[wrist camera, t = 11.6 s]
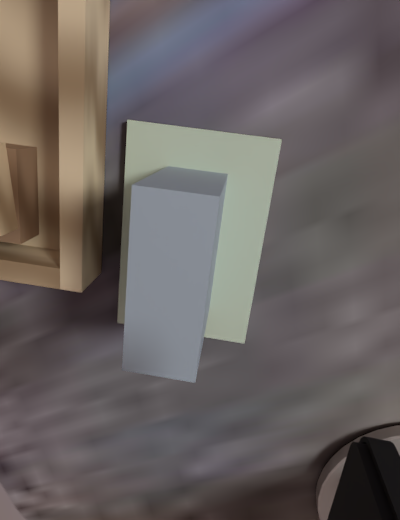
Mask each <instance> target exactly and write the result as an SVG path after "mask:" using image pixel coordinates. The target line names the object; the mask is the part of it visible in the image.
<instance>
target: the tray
mask: <svg viewBox="0 0 400 520" xmlns="http://www.w3.org/2000/svg"><path fill="white" fill-rule="evenodd" d="M109 17H110V0H0V142H5V143H9V144H17V145H24V146H32V147H37V172H38V209H39V235H37V236H36V237H34V238H32V239H30V240H28V241H26V242H24V243H22V244H15V243H8V242H2V241H0V280H5V281H11V282H17V283H24V284H30V285H36V286H43V287H49V288H55V289H62V290H68V291H74V292H81V293H82V292H83V291H84V290H85V289H86V288H87V287H88V286H89V285H90V284H91V283H92V282H93V281H94V280H95V279H96V278H97V277H98V276H99V274H100V273H101V266H102V235H103V204H104V172H105V141H106V110H107V79H108V48H109Z"/></svg>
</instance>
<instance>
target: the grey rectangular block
mask: <svg viewBox="0 0 400 520" xmlns="http://www.w3.org/2000/svg"><path fill="white" fill-rule="evenodd" d="M227 177H228V174H225V173H217V172H210V171H202V170H194V169H187V168H179V167H171V166H168V167H166V168H164V169H162V170H160V171H158V172H156V173H154V174H152V175H150V176H148V177H146V178H144V179H142V180H140V181H138V182H136V183H134V184H132V192H131V210H130V229H129V248H128V266H127V285H126V304H125V322H124V341H123V360H122V371H128V372H134V373H140V374H146V375H152V376H158V377H164V378H170V379H176V380H182V381H188V382H194V383H195V381H196V376H197V370H198V365H199V360H200V355H201V350H202V344H203V339H204V334H205V329H206V324H207V318H208V313H209V308H210V300H211V293H212V286H213V279H214V271H215V264H216V257H217V250H218V242H219V235H220V228H221V221H222V213H223V206H224V199H225V192H226V184H227Z"/></svg>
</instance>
